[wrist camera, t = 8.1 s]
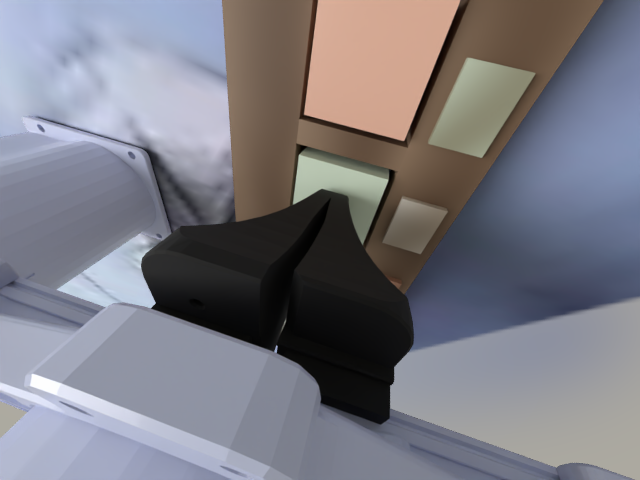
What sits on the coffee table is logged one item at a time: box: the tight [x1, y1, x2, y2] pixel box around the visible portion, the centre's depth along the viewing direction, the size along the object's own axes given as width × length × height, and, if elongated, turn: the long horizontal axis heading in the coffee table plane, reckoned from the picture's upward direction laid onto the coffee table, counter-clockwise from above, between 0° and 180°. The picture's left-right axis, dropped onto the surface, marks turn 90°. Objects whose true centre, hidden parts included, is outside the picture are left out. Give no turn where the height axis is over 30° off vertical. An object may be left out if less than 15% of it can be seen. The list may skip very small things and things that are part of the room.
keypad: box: [222, 0, 604, 294], centre depth 12 cm, size 11×29×3 cm, turn 170°
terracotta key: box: [304, 0, 460, 141], centre depth 9 cm, size 4×4×3 cm
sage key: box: [293, 147, 389, 245], centre depth 12 cm, size 4×4×3 cm
